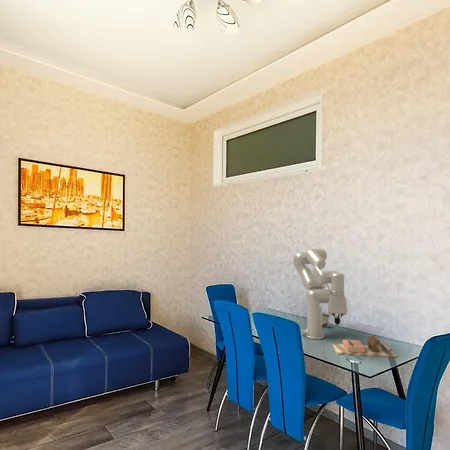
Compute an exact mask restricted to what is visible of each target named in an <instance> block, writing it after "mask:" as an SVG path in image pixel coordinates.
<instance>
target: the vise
mask: <svg viewBox="0 0 450 450" xmlns="http://www.w3.org/2000/svg"><path fill="white" fill-rule="evenodd" d="M331 345H332V348H333V350H334V351H335V353H336V354H337V355H341V356H342V355H343V356H360V355H365V356H366V357H387V358H397V357H398V355H397V354H396V352H395V348H393V346H391V344H389V343H388V341H380V350H379V352H372V351H371V350H370V349H369V348H368V345H365V344H363V345H364V346H365V353H364V352H348V351H347V350H346V349H345V347H344V346H343V343H332V344H331ZM349 354H351V355H349ZM365 356H364V357H365Z"/></svg>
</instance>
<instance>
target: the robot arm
mask: <svg viewBox="0 0 450 450" xmlns="http://www.w3.org/2000/svg"><path fill="white" fill-rule="evenodd" d="M327 254H328V253H327V252H326V250H325V249H323V248H310V249H308V250H306V251H305V252H297V253H295V254H294V255H293V265H294V268H295V270H296V272H298V274H299V276H300V279H301V283H302V284H303V286H304V289H305V290H307V292H306V294H305V296H306V303H307V304H306V305H307V325H306V326H307V327H306V329H300V330H301V332H300V333H302V334H304V336H305V338H308V339H312V340H322V339H324V338H325V335H324V333H323V328H322V312H323V310H322V307H321V306H320V305H321V304H328V305H327V306H328V308H327V309H328V310H327V311H328V312H327V314H329V316H333V318H334V324H335V326H339V325H340V324H341V319H342V317H343V316H346V315H347V312H348V303H347V297H346V295H345V274H344V273H342V272H338V271H335V270H324V269H325V267H326V264H327V263H326V260H327V259H328V257H327V256H328V255H327ZM307 265H311V266H312V269H310V268H309V267H308V266H307ZM322 270H324V271H322ZM329 284H330V285H329Z"/></svg>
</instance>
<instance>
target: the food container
mask: <svg viewBox="0 0 450 450" xmlns="http://www.w3.org/2000/svg"><path fill="white" fill-rule="evenodd" d="M329 318H330V314H328V312H323V311H322V329H323V328H324V329H328V325H329Z"/></svg>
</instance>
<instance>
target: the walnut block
mask: <svg viewBox="0 0 450 450" xmlns="http://www.w3.org/2000/svg"><path fill="white" fill-rule="evenodd" d="M380 342H381V341H380V339H379V338H378V337H377V336H376V335H367V346H368V348H369V349H370V350H371V351H372V352H379V350H380Z"/></svg>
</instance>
